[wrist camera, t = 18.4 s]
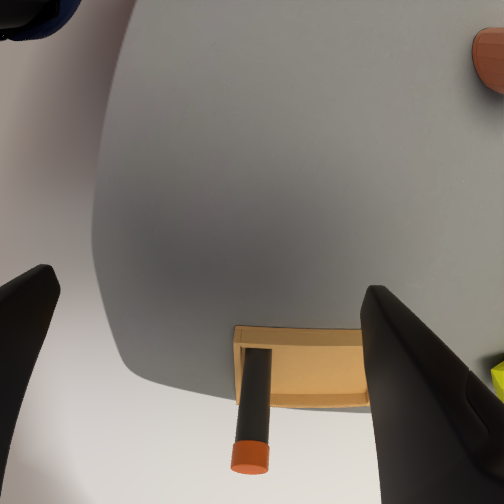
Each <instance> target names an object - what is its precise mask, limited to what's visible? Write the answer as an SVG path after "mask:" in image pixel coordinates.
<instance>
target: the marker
mask: <svg viewBox="0 0 504 504" xmlns="http://www.w3.org/2000/svg"><path fill="white" fill-rule="evenodd" d="M271 369H272V349H262V348H245V355H244V364H243V373H242V382H241V391H240V401H239V410H238V419H237V428H236V437H235V443H234V444H233V451H232V460H231V469H232V470H233V471H235V472H238V473H242V474H263V473H266V472H267V471H268V465H269V446H268V438H269V417H270V395H271Z"/></svg>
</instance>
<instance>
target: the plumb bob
mask: <svg viewBox="0 0 504 504" xmlns="http://www.w3.org/2000/svg"><path fill="white" fill-rule="evenodd" d="M491 375H492V382H493V386H494V389H495V391H496V394H497V396H498V398H499V399H500V400H501V401H502V402H503V403H504V361H503V362H501V363H500V364H498V365H497V366H495V367H494V368H492V369H491Z"/></svg>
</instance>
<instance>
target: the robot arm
mask: <svg viewBox="0 0 504 504" xmlns="http://www.w3.org/2000/svg"><path fill="white" fill-rule="evenodd" d="M53 11H54V14H53V15H52V12H53ZM59 13H60V0H0V41H5V40H7V39H9V38H11V37H13V36H15V35H18V34H20V33H22V32H24V31H26V30H28V29H31V28H33V27H35V26H38V25H40V24H43V23H45V22H48V21H50V20H53V19H55V18H57V16H58V15H59ZM3 34H4V36H3ZM59 295H60V285H59V282H58V280H57V277H56V275H55V272H54V270H53V268H52V266H50V265H46V264H40V265H37V266H36V267H34V268H32V269H30V270H28V271H27V272H25V273H23V274H21V275H20V276H18V277H16V278H14V279H13V280H11V281H9V282H7V283H6V284H4V285H3V286H1V287H0V496H1V490H2V484H3V479H4V473H5V468H6V463H7V458H8V454H9V449H10V444H11V440H12V436H13V433H14V429H15V425H16V421H17V418H18V414H19V411H20V408H21V404H22V401H23V398H24V395H25V392H26V389H27V386H28V383H29V380H30V377H31V374H32V371H33V368H34V366H35V363H36V360H37V358H38V355H39V352H40V350H41V347H42V345H43V342H44V339H45V337H46V334H47V331H48V328H49V325H50V322H51V319H52V316H53V313H54V310H55V307H56V304H57V301H58V298H59ZM360 319H361V331H362V344H363V359H364V369H365V376H366V382H367V388H368V394H369V400H370V406H371V413H372V420H373V427H374V435H375V443H376V451H377V459H378V469H379V479H380V489H381V490H380V491H381V502H382V504H504V403H503V402H502V401H501V400H500V399H499V398H498V397H497V396H496V395H494V394H493V393H492V392H491V391H490V390H489V389H488V387H487V386H486V385H485V384H484V383H483V382H482V381H481V380H480V379H479V378H478V377H477V376H476V375H475V374H474V373H473V372H472V371H471V370H470V371H469V368H468V367H467V366H466V365H465V364H464V363H463V362H462V361H461V360H460V359H459V358H458V357H457V356H456V355H455V354H454V352H453V351H452V350H451V349H450V348H449V347H448V346H447V345H446V344H445V343H444V342H443V341H442V340H441V339H440V338H439V337H438V336H437V335H436V334H434V333H433V332H432V331H431V330H430V329H429V328H428V327H427V326H426V325H425V324H424V323H423V322H422V321H421V320H420V319H419V318H418V317H417V316H416V315H415V314H414V313H413V312H412V311H411V310H410V309H409V308H408V307H406V306H405V305H404V304H403V303H402V302H401V301H400V300H399V299H398V298H397V297H396V296H395V295H394V294H393V293H391V292H390V291H389V290H388V289H387V288H386V287H385V286H382V285H370V286H369V287H368V288H367V291H366V294H365V297H364V301H363V304H362V307H361V312H360Z"/></svg>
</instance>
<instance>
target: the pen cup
mask: <svg viewBox="0 0 504 504" xmlns="http://www.w3.org/2000/svg"><path fill="white" fill-rule="evenodd" d="M472 55H473V62H474V66H475V69H476V71H477V73H478V75H479V77H480V79H481V80H482V81H483V83H484V84H485V85H486V86H487V87H488V88H490V89H491V90H493V91H495V92H497V93H501V94H503V95H504V28H485V29H483V30H481V31H480V32H479V33H478V34H477V36H476V37H475V40H474V43H473V49H472Z"/></svg>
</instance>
